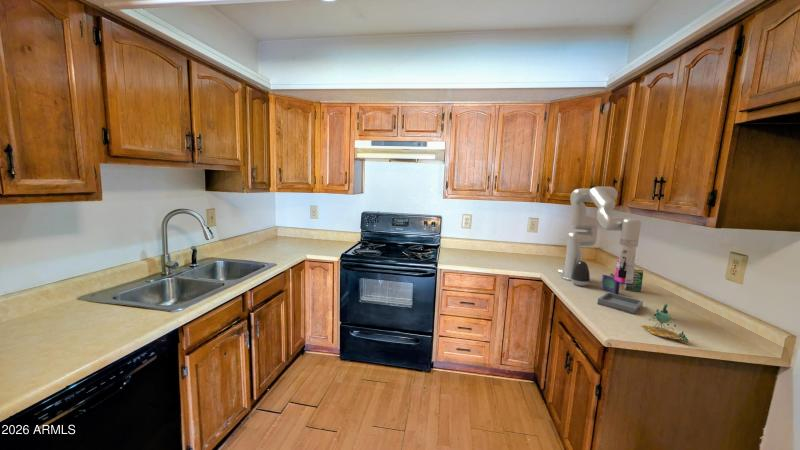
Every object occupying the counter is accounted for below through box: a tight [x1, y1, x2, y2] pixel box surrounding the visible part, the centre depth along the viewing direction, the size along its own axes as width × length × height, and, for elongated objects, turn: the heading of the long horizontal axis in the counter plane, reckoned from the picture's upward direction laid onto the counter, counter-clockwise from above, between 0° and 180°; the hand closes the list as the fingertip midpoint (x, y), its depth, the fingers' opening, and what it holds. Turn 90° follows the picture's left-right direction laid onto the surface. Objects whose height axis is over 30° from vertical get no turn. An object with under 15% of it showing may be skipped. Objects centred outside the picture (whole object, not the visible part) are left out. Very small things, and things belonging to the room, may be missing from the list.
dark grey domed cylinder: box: [571, 260, 591, 287], centre depth 193 cm, size 10×10×15 cm
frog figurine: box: [641, 303, 691, 346], centre depth 131 cm, size 10×18×15 cm, turn 13°
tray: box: [597, 291, 644, 315], centre depth 162 cm, size 16×16×3 cm
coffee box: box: [623, 268, 644, 293], centre depth 185 cm, size 8×3×13 cm, turn 66°
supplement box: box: [614, 259, 636, 285], centre depth 159 cm, size 6×6×12 cm
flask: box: [600, 272, 620, 295], centre depth 182 cm, size 10×3×12 cm, turn 24°
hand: (624, 275), depth 160 cm, fingers closed on supplement box, 8 cm apart
